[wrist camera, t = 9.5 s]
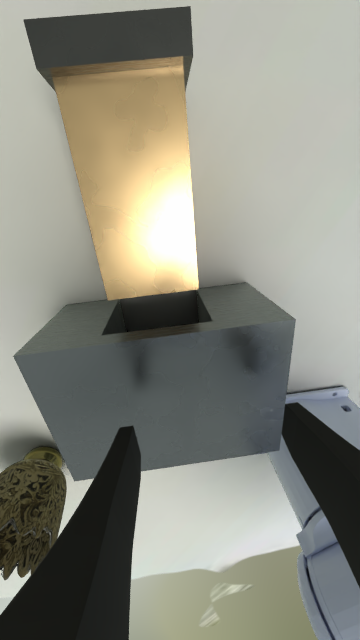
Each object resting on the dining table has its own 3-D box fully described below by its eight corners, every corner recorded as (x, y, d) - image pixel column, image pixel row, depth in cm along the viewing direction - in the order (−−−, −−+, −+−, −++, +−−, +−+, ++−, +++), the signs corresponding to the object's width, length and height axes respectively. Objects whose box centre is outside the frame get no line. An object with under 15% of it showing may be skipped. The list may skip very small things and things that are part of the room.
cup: (94, 468, 25) (68, 569, 18) (31, 483, 26) (-20, 590, 18) (64, 422, 22) (18, 522, 15) (-8, 440, 22) (-87, 547, 15)
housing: (247, 282, 18) (295, 319, 11) (244, 383, 22) (279, 450, 16) (66, 304, 17) (13, 356, 11) (99, 403, 22) (74, 481, 15)
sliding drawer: (177, 89, 13) (190, 6, 8) (192, 269, 17) (206, 291, 12) (77, 98, 13) (23, 19, 8) (117, 278, 17) (99, 305, 12)
